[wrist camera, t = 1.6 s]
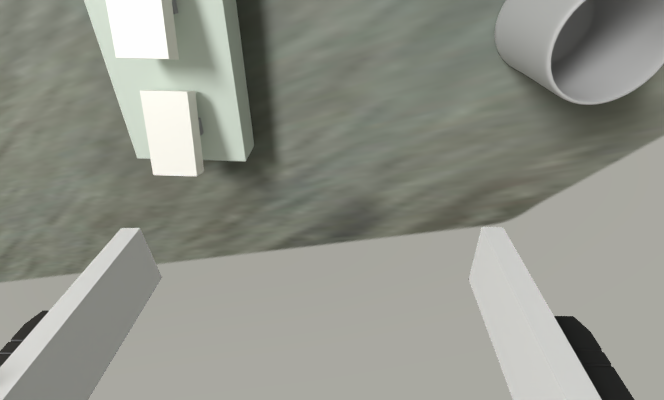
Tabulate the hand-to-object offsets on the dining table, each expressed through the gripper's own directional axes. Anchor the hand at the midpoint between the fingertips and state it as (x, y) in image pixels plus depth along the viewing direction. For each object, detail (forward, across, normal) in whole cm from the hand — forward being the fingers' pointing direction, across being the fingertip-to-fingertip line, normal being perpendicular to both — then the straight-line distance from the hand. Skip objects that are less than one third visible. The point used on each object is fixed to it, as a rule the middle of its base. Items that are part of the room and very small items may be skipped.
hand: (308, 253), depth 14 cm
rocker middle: (+21, -15, +7) cm, 27 cm away
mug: (+27, +19, +6) cm, 34 cm away
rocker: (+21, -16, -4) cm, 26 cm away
